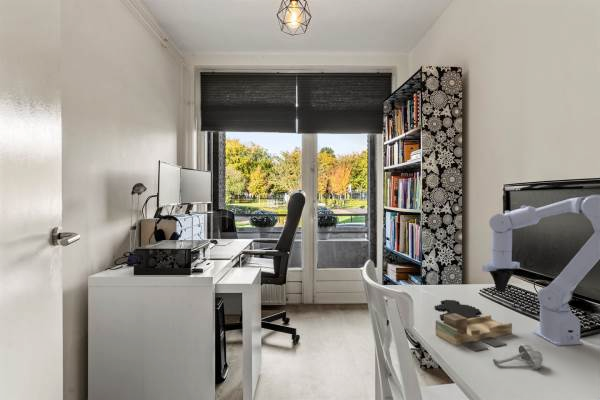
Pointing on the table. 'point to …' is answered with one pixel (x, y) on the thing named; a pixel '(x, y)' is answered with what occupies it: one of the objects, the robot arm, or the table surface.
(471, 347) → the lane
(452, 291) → the table surface
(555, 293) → the robot arm
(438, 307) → the black pixelated cutout
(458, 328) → the walnut block
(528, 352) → the mushroom
